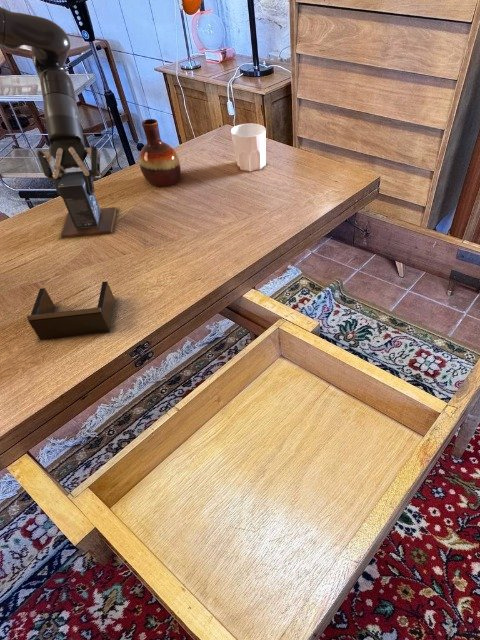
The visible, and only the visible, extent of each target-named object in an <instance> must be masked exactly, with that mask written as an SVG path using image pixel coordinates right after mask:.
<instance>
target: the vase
mask: <svg viewBox="0 0 480 640" xmlns="http://www.w3.org/2000/svg"><path fill="white" fill-rule="evenodd" d="M141 126H142V129H143V132H144V135H145V139H146V144H145V145H144V146H143V147H142V148H141V150H140V152H139V157H138V163H139V165H138V166H139V168H140V171H141V173H142V175H143V177H144V179H145V180H146V182H147V183H148V184H150V185H152V187H153V186H154V187H156V188H163V187H164V188H166V187H169V186H172V185H174V184H176V183H177V182H178V181H179V179H180V177H181V171H182V170H181V161H180V158H179V155H178V154H177V151H176V150H175V149H174V148H173V147H172V146H171V145H170V144H168V143H166V142H165V141H162V138H161V133H160V128H159V123H158V120H157V119H154V118H148V119H144V120H142V121H141Z"/></svg>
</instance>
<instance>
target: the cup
mask: <svg viewBox="0 0 480 640" xmlns="http://www.w3.org/2000/svg"><path fill="white" fill-rule="evenodd" d="M230 136H231V140H232V145H233V149H234V155H235V159H236V165H237V166H238V167H239V168H240V171H248V172H250V173H251V172H253V171H257V170H258V171H259V170H262V168H264V166H267V165H266V164H267V153H266V152H267V151H266V149H267V146H266V145H267V143H266V142H267V129H266V127H265V126H264V125H262V124H258V123H240V124H237V125H235V126H233V127H232V128H231V129H230Z"/></svg>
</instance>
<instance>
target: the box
mask: <svg viewBox="0 0 480 640" xmlns="http://www.w3.org/2000/svg"><path fill="white" fill-rule="evenodd" d="M84 177H85V175H84V173H83V171H82V170H80V171H66V172H65V173H64V174H63V175H62V177H61V180H60V183H59V185H58V188H59V191H60V193H61V196H62V197H61V196H60V197H61V198H62V200H63V202H64V205H65V207H66V210H67V212H68V213H69V214H70V217H71V219H72V222H73V224H74V226H75V228H76V229H77V228H89V227H97V226H98V222H99V217H100V213H101V210H100V209H101V208H100V204H99V203H98V200H97V197H96V195H95V192H94V193H93V195H92V196H89V195H88V194H87V191H86V185H85V180H84Z"/></svg>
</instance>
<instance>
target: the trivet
mask: <svg viewBox="0 0 480 640" xmlns="http://www.w3.org/2000/svg"><path fill="white" fill-rule="evenodd" d="M100 210H101V213H100V217H99V222H98V226H97V227H89V228H77V229H76V228H75V226H74V224H73V222H72V219H71V217H70V214H69V212H68V213H67V216H66V218H65V222H64V225H63V228H62V231H61V234H60V236H61V239H67V238H69V239H70V238H77V237H88V236H89V237H90V236H98V235H99V236H101V235H108V234H112V233H113V229H114V225H115V220H116V214H117V207H115V206H114V207H113V206H112V207H104V208H103V207H102V208H100Z"/></svg>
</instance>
